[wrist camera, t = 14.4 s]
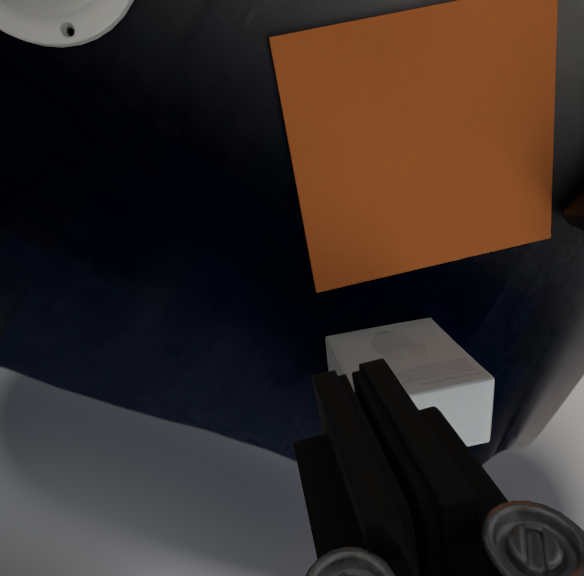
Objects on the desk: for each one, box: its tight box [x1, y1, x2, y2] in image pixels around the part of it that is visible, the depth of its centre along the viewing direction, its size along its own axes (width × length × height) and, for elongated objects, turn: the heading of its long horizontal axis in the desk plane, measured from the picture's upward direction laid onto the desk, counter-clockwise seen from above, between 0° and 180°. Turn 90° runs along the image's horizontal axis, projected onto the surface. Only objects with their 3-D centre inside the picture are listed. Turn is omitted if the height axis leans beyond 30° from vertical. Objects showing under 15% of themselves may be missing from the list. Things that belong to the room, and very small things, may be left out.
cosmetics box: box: [325, 318, 494, 446], centre depth 37 cm, size 10×6×10 cm, turn 97°
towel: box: [269, 0, 558, 293], centre depth 35 cm, size 20×22×1 cm
